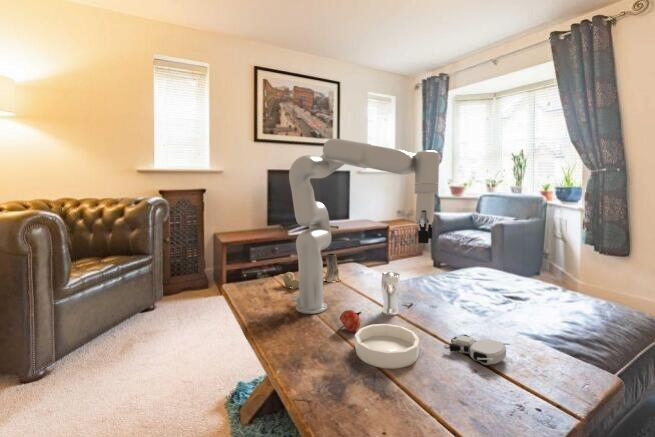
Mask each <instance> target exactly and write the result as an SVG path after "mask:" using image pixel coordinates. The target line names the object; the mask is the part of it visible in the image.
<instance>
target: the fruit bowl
mask: <svg viewBox="0 0 655 437" xmlns="http://www.w3.org/2000/svg"><path fill="white" fill-rule="evenodd" d="M354 348H355V354H356V356H358V358H359V360H360V361H362V362H363V363H366V364H368V365H370V366H372V367H376V368H380V369H390V370H392V369H393V370H396V369H397V370H398V369H402V368H407V367H411V365H412V366H413V365H414V364H415V363H416V362H417V361H418V359H419V353H420V338H419V337H418V335H417V334H416V333H415V332H414V331H413V330H411V329H409V328H407V327H404V326H401V325H395V324H391V323H390V324H389V323H375V324H370V325H367V326H364V327H361V328H360V327H359V328H358V331H357V332H356V333H355V334H354Z"/></svg>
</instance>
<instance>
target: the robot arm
mask: <svg viewBox="0 0 655 437" xmlns="http://www.w3.org/2000/svg"><path fill="white" fill-rule="evenodd" d="M344 165H348V166H352V167H358V168H362V169H372V170H378V171H381V172H387V173H390V174H391V173H393V174H397V175H411V174H414V194H415V195H416V201H415V220H414V221H415V222H414V223H415V224H416V225H418V233H417V237H418V238H417V242H418V244H429V242H430V240H431V239H433V222H434V219H435V218H434V217H435V216H434V215H435V195H437V194H439V179H440V178H439V173H440V154H439V152H438V151H436V150H421V151H417V152H408V151H405V150H403V149H396V148H390V147H383V146H379V145H378V146H377V145H373V144H371V143H367V142H366V143H365V142H360V141H359V142H358V141H355V140H354V141H352V140H347V139H343V138H342V139H341V138H329V139H328V140H327V141H325V142H324V144H323V146H322V155H320V156H317V155H316V156H315V155H310V154H309V155H306V154H305V155H301V156H300V157H298V158H296V159H294V161H293V162H292V164H291V166H290V168H289V171H288V173H289V174H288V178H289V184H290V190H291V196H292V203H293V210H294V217H295V219H296V220H295V221H296V223H297V225H300V226H301V227H308V228H309V229H305V230H303V231H302V232H300V233H299V234H298V235H297V238H296V240H295V248H296V253H297V261H298V280H299V288H298V290H299V291H298V294H299V295H297V294H292V295H291V302H295V303H296V304H295V310H296V311H297V312H298V313H301V314H307V315H309V314H310V315H311V314H312V315H313V314H319V313H323V312H325V311H326V310H327V309H328V304H327V303H326V302H325V301H324V281H323V278H324V270H323V269H324V267H323V266H324V265H323V258H322V255H321V251H323V250H325V249H327V248H328V247H329V246H330V245H331V243H332V231H331V230H332V229H331V224H330V216H329V212H328V210H327V209H328V208H327V207H326V206H325V204H323V202H321V201H318V200H316V198H315V191H314V187H313V184H312V183H311V179H324V178H327V177H328V176H330V175H331V174H333V173H335V172H336V171H337V170H339V169H341V167H343V166H344Z"/></svg>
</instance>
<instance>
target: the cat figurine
mask: <svg viewBox="0 0 655 437" xmlns="http://www.w3.org/2000/svg"><path fill="white" fill-rule="evenodd" d="M279 278H280V279H281V280H283V283H284V286H286V288H288V289H289V288H290V287H291V288H292V289H293V290H297V289H299V279H296V277H295V274H294V273H293V272H292V271H291V272H290V271H288V272H286V273H284V274H279ZM291 288H290V289H291ZM296 288H297V289H296Z"/></svg>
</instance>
